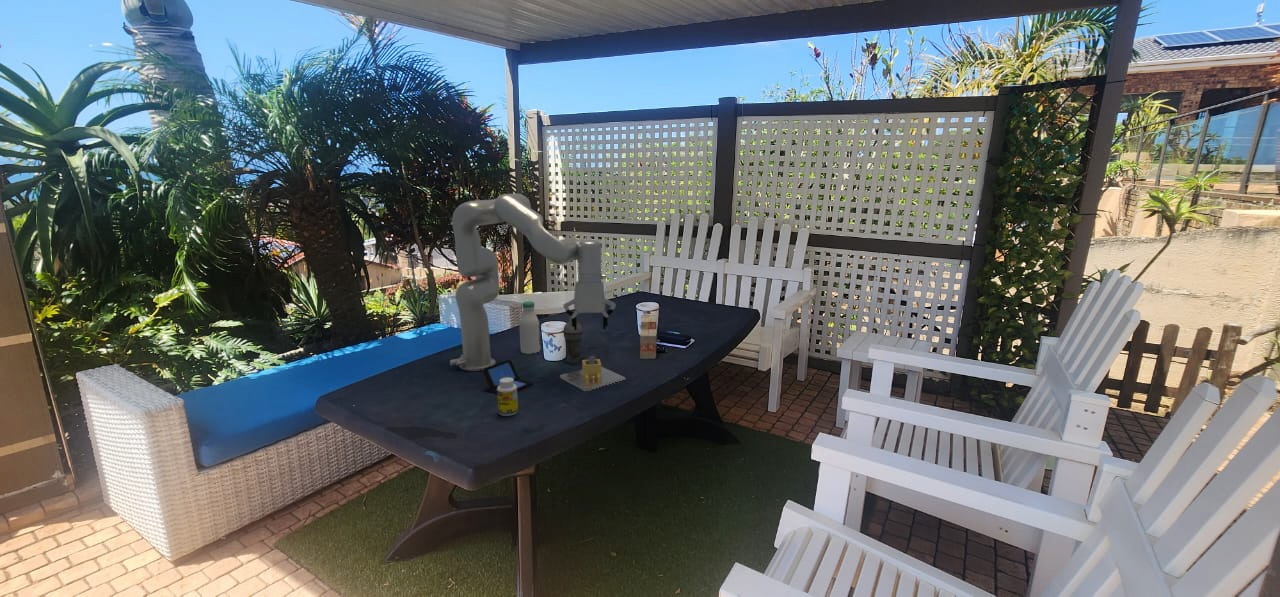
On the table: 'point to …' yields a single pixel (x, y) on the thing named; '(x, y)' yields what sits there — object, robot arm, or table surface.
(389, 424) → the table surface
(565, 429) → the table surface
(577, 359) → the beverage cup
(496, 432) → the table surface
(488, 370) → the handheld game console
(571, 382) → the post base
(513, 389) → the supplement bottle
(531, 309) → the milk bottle
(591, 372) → the yellow hollow square block
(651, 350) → the stack of blocks
